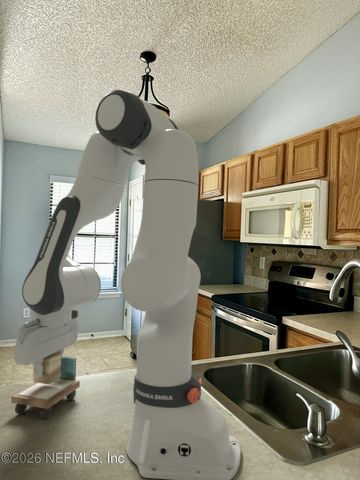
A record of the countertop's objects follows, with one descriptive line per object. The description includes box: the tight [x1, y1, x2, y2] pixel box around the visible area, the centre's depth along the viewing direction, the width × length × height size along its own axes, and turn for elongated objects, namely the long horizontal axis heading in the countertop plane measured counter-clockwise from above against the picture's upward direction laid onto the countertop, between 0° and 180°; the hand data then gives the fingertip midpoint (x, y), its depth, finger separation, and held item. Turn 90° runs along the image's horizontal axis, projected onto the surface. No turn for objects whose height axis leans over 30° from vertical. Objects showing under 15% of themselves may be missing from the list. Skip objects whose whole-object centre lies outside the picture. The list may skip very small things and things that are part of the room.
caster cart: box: [10, 355, 81, 420], centre depth 84 cm, size 10×14×10 cm
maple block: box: [32, 353, 61, 384], centre depth 84 cm, size 4×4×6 cm
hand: (48, 371), depth 84 cm, fingers closed on maple block, 4 cm apart
